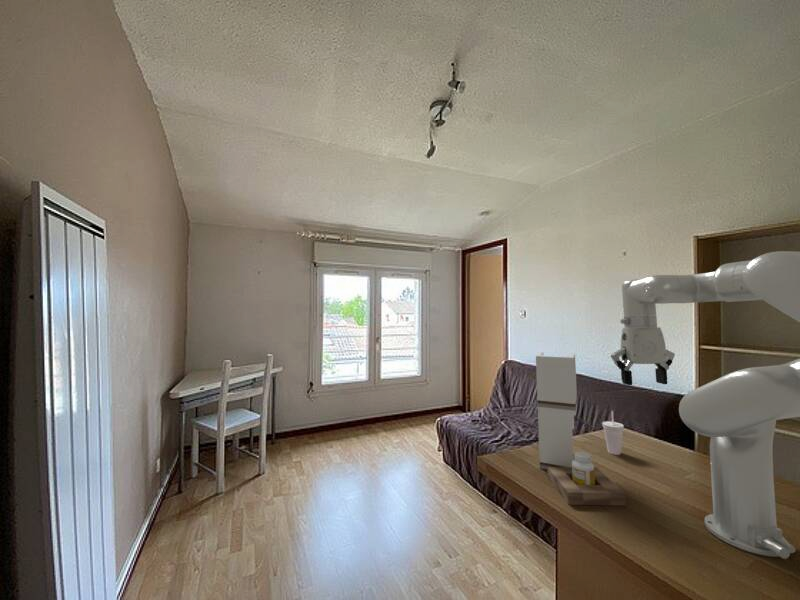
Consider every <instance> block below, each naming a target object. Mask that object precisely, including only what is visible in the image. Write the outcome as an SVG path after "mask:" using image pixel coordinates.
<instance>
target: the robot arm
mask: <svg viewBox="0 0 800 600" xmlns="http://www.w3.org/2000/svg"><path fill="white" fill-rule="evenodd" d="M621 293H622V294H621V295H622V307H623V308H622V309H623V318H622V319H620V322H619V323H621V325H622V324H623V326H624V327H622V331H621V336H620V349H618V350H616V351H615V352H613V353H611V354H610V357H611V359H612V361H613V362H614V365H616V366H617V368H618V369H619V370H620V373H621V381H622V384H624V385H627V386H633V375H632V374H633V371H632V370H630V369H631V367H632V366H633V365H650V364H651V365H652V364H654V365H655V366H656V368H655V370H654V371H655V382H656V384H657V383H658V384H662V385H668V370H670V366H671V365H672V364H673V360H674V357H675V356H676V354H675V353H674V351H673V352H672V351H670V350H668V349H667V347H666V341H665V338H664V334H663V331H662V329H661V327H658V320H657V318H658V317H657V304H660V305H661V304H663V305H664V304H692V303H693V304H695V303H709V302H710V303H711V302H727V303H730V302H731V303H733V302H746V301H747V302H748V301H764V302H765V303H767V304H769V305H770V306H771V307H773V308H775V309H777V310H778V311H780V312H781V313H783V314H784V315H787V316H788V317H790V318H792V319H793V320H794V321H797V322H798V323H800V251H793V250H792V251H790V250H789V251H786V250H784V251H782V250H780V251H771V252H767V253H764V254H761V255H759V256H756V257H755V258H753V259H749V260H742V261H735V262H729V263H724V264H721V265H720V266H719V267H718V268H717V269H716V270H715V271H710V272H702V273H694V274H654V275H650V276H646V277H644V278H636V279H627V280H624V281H623V283H622V284H621ZM620 357H621V359H620ZM678 413H679V417H680V419H681V420H682V422H683V423H684V425H686V427H688V428H689V429H690V430H691V431H693V432H695V433H697V434H699V435H702V436H705V437H709V438H710V440H709V459H710V460H709V461H710V462H709V463H710V477H711V478H710V479H711V494H712V496H711V497H712V509H713V510H712V511H713V513H710V514H707V515H706V516H705V517H704V526H705V527H706V529H707V530H708V531H709V532H710V533H711V534H712V535H713V536H715V537H717V538H718V539H720V540H721V541H723V542H724V543H727V544H728V545H731V546H732V547H735V548H738V549H740V550H743V551H746V552H749V553H752V554H756V555H760V556H766V557H776V558H777V557H780V558H782V559H783V560H784V559H785V560H786V559H788V558H789V557H790V555H791V554H793V553H795V552H796V547H795V546H794V545H792V544H790V543H789V542H788V540H787V539H786V538H785V537H784V536H783V529H781V528H780V527H778V526H777V512H776V511H777V509H776V495H775V483H774V482H775V480H774V459H773V458H774V457H773V448H774V447H773V446H774V445H773V444H774V437H775V436H774V435H775V431H776V426H777V425H776V424H777V421H778V420H779V421H780V420H785V419H792V418H800V358H797V359H794V360H791V361H789V362H786V363H783V364H775V365H765V366H754V367H747V368H742V369H738V370H735V371H732V372H730V373H727V374H725V375H723V376H721V377H719V378H716V379H714V380H712V381H709V382H708V383H706V384H704V385H701V386H699V387H697V388H695V389H692V390H690V391H688V393H686V394H685V395H684V396H683V397H682V398H681V400H680V402H679V406H678Z"/></svg>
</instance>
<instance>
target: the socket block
mask: <svg viewBox="0 0 800 600" xmlns="http://www.w3.org/2000/svg"><path fill="white" fill-rule="evenodd" d="M546 471H547V478H548V480H549V481H550V482H551V484H552V485H553V486H554V488H556V490H557V491H558V492H559V494H560V495H561V497H562V498H563V499H564V501H566V502H565V503H567V504H568V505H573V506H574V505H577V506H578V505H580V506H582V505H586V506H595V505H596V506H627V504H626V492H625V491H623V490H622V488H620V487H619V486H618V485H617V484H616V483H615V482H614V481H613V480H611V479H610V478H609V477H608V476H606V475H605V474H604V473H603V472H602V471H601V470H600V469H598V467H595V466H594V475H595V485H576V484H575V483H574V482H573V477H572V467H547V470H546Z"/></svg>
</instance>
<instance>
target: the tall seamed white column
mask: <svg viewBox="0 0 800 600" xmlns="http://www.w3.org/2000/svg"><path fill="white" fill-rule="evenodd" d="M535 367H536V368H535V369H536V370H535V371H536V373H535V374H536V395H537V401H536V402H537V421H538V422H537V423H538V428H537V429H538V450H539V451H538V453H539V469H541V470H544V471H545V470H546V471H547V467H572V461H573V460H575V458H574V440H573V439H574V438H573V436H574V435H573V432H574V431H575V417H574V416H577V412H578V392H577V391H578V390H577V388H578V387H577V370H576V368H577V367H576V353H574V352H573V353H571V354H570V355H569V356H553V355H552V356H551V355H550V356H549V355H544V352H541V351H540V352H538V354H537V355H535Z"/></svg>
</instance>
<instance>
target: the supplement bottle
mask: <svg viewBox="0 0 800 600" xmlns="http://www.w3.org/2000/svg"><path fill="white" fill-rule="evenodd" d="M573 454H574V458H575V460H573V461H572V477H573V482H574V483H575V484H576V485H595V475H594V467H595V465H594V464H593V462H591V461H592V457H591V454H590V453H588V452H584V451H575V452H573Z"/></svg>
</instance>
